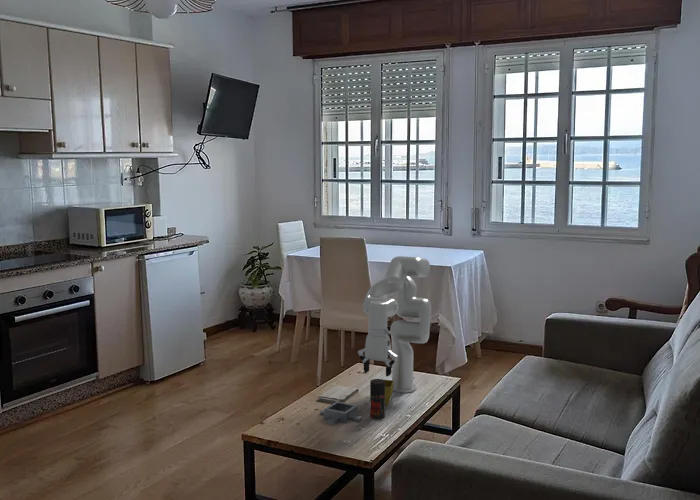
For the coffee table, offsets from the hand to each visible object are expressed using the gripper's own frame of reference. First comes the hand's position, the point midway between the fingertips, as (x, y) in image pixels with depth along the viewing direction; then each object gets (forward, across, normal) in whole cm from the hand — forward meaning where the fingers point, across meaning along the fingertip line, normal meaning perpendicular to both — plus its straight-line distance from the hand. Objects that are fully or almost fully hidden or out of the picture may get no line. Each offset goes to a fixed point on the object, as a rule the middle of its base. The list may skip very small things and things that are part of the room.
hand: (377, 373), depth 267 cm
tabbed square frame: (+18, +13, +6) cm, 23 cm away
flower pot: (+18, +5, -16) cm, 25 cm away
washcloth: (+19, +26, -14) cm, 35 cm away
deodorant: (+18, 0, -1) cm, 18 cm away
